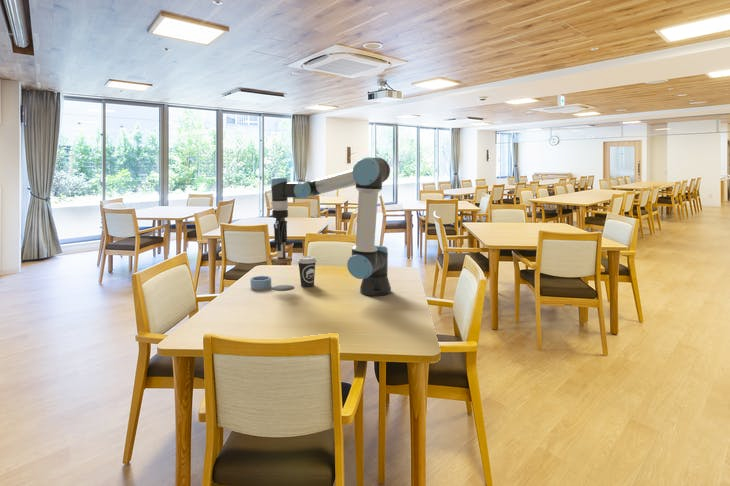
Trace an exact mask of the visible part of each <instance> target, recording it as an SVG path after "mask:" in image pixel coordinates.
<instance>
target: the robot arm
mask: <svg viewBox="0 0 730 486" xmlns="http://www.w3.org/2000/svg"><path fill="white" fill-rule="evenodd" d="M390 173H391V168H390V163H388V162H387V160H385V159H384V158H381V157H370V156H369V157H364V158H361V159H359V160H357V161H356V162H355V163H354V165H353V167H352V169H349V170H345V171H343V172H342V171H341V172H339V173H335V174H331V175H327V176H324V177H321V178H316V179H313V180H307V181H288V178H287V177H272V179H271V183H270V184H271V187H270V188H271V205H272V206H271V207H272V211H271V213H272V216H271V217H272V218H274V219H275V223H274V224H273V230H274V234H273V235H274V245H276V257H281V258H282V257H283V244H282V242H285V252H286V253H287V248H286V245H287V243H288V229H287V228H288V225H287V224H288V221H287V220H286V218H288V217H289V210H288V208H289V204H288V202H289V201H288V198H290V199H291V198H293V199H294V198H295V199H306V198H308V197H315V196H318V195H322V194H326V193H329V192H333V191H337V190H338V191H339V190H342V189H346V188H349V187H353V186H355V189H356V191H358V197H357V199H358V200H357V212H356V213H357V218H356V232H355V234H356V235H355V244H354V245H353V246H352V248H351V256H350V257H348V260H347V263H346V266H347V271H348V273H349V274H350V275H351V276H352V278H355V279H358V280H361V284H360V286H359V293H360V294H362V295H365V296H370V297H381V296H382V297H383V296H387V295H390V294H392V287H391V283H390V281H389V277H388V268H389V267H388V265H389V264H388V260H389V256H388V255H389V252H388V247H387V246H385V245H375V243H376V230H377V229H376V225H377V211H378V201H379V200H378V198H379V193H380V192H381V191H382V190H383V189H382V188H383V183H384V182H386V181H387V180H388V179H389V176H390Z"/></svg>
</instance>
